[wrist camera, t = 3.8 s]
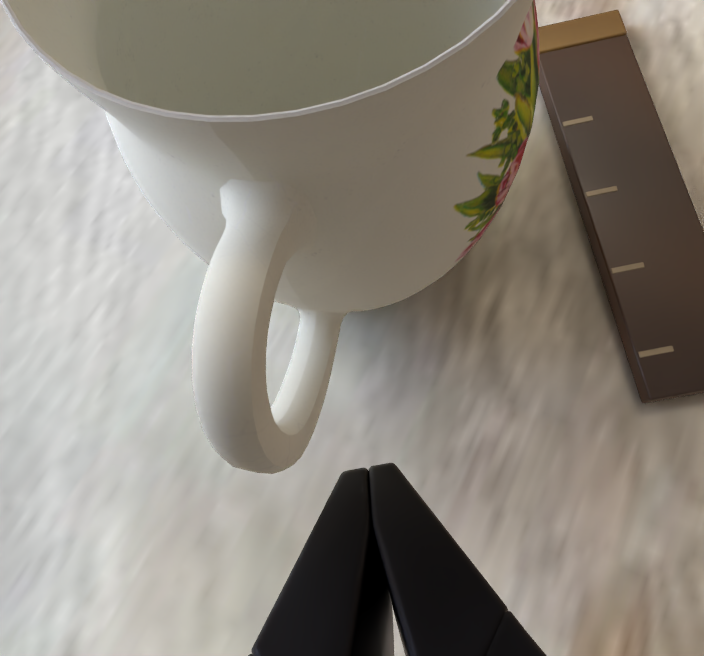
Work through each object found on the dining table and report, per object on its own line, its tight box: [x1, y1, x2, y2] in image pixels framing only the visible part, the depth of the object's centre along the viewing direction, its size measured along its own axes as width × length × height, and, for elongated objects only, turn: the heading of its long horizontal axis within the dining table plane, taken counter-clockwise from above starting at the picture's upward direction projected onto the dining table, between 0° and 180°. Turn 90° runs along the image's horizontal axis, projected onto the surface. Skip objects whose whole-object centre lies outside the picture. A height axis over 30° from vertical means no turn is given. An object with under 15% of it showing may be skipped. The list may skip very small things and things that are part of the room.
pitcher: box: [0, 0, 539, 474], centre depth 16 cm, size 11×18×14 cm, turn 172°
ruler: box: [538, 10, 704, 403], centre depth 21 cm, size 15×4×1 cm, turn 10°
